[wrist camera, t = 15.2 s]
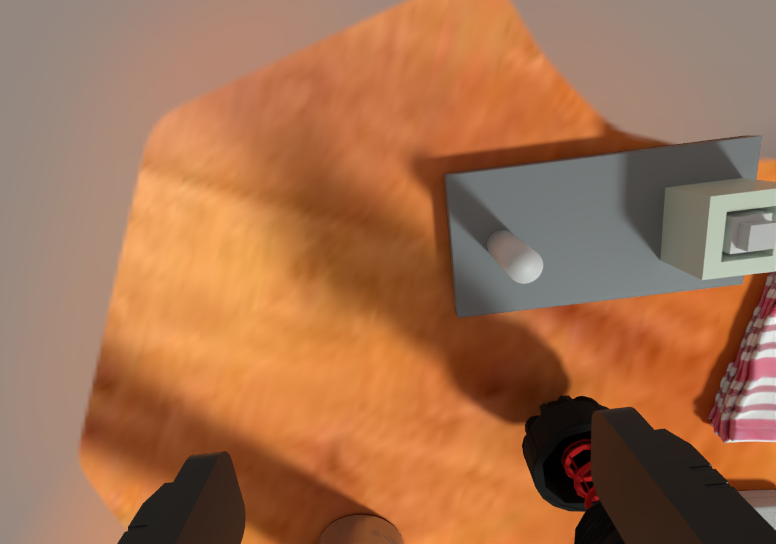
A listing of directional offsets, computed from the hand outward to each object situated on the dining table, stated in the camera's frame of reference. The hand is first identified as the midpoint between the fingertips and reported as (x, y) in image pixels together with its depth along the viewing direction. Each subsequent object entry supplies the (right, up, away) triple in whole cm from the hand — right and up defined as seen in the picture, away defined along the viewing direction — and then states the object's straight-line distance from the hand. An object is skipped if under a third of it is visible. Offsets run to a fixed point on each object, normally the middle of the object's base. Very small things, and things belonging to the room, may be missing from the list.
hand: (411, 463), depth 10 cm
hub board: (+17, +8, +27) cm, 33 cm away
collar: (+25, +8, +26) cm, 36 cm away
